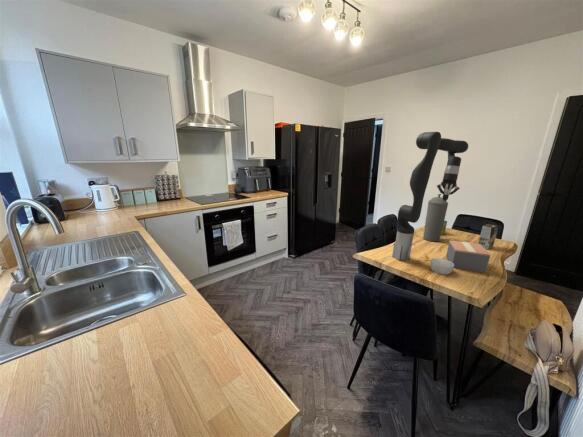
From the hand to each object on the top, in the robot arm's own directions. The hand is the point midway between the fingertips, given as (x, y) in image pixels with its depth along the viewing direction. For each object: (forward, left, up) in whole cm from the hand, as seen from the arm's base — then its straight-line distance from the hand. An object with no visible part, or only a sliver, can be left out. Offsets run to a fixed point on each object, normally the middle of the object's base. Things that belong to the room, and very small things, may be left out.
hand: (444, 200), depth 152 cm
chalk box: (+30, +26, -34) cm, 52 cm away
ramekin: (-23, -24, -34) cm, 48 cm away
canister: (+14, +16, -34) cm, 40 cm away
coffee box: (+38, -7, -34) cm, 52 cm away
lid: (-2, -22, -24) cm, 33 cm away
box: (-2, -22, -34) cm, 41 cm away
